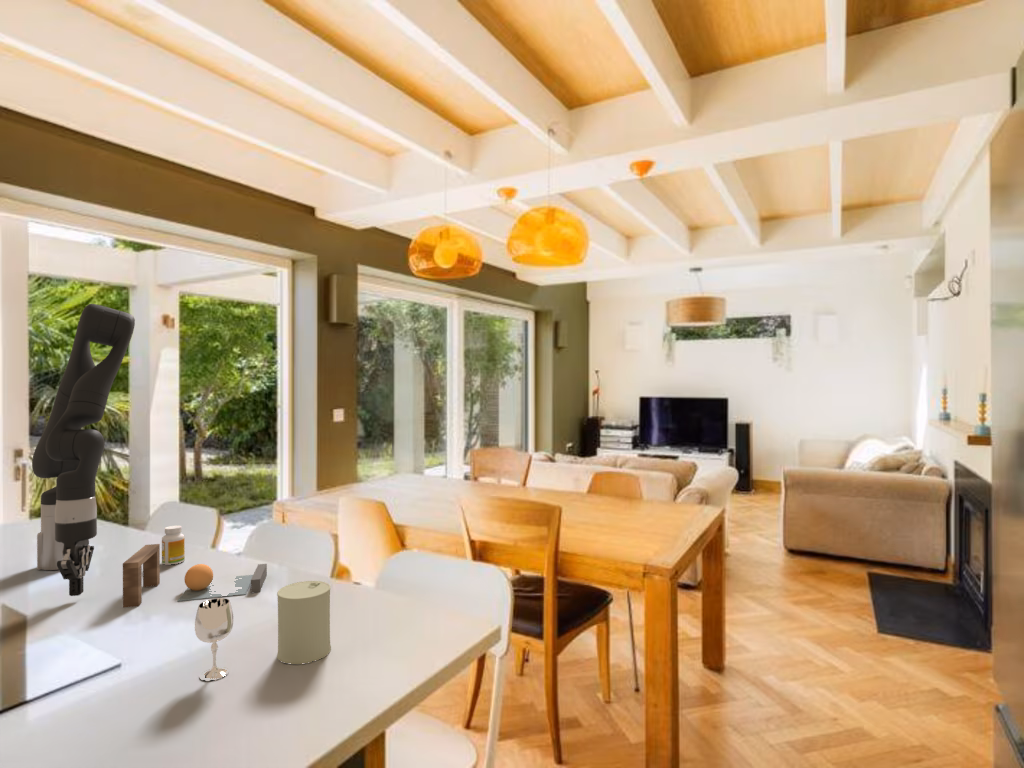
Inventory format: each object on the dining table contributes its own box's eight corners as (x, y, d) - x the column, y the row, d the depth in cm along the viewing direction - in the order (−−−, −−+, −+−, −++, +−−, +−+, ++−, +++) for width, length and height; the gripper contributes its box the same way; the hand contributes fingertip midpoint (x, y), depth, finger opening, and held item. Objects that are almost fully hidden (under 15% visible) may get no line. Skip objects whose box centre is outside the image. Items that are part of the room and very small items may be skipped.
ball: (199, 563, 132) (214, 584, 133) (207, 555, 138) (221, 576, 139) (175, 578, 131) (190, 599, 132) (184, 570, 137) (198, 590, 137)
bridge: (122, 607, 124) (122, 563, 124) (145, 584, 138) (145, 544, 138) (138, 606, 125) (138, 562, 125) (159, 583, 139) (159, 543, 139)
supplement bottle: (189, 559, 158) (188, 524, 158) (175, 565, 153) (175, 529, 153) (171, 559, 159) (170, 524, 159) (157, 565, 153) (156, 529, 153)
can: (341, 645, 106) (341, 581, 106) (308, 668, 97) (308, 598, 97) (300, 638, 109) (300, 575, 109) (265, 660, 100) (265, 592, 100)
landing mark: (177, 601, 128) (177, 600, 128) (193, 580, 141) (193, 580, 141) (245, 594, 132) (245, 593, 132) (254, 575, 145) (254, 574, 145)
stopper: (250, 592, 133) (250, 580, 133) (258, 576, 144) (258, 564, 144) (260, 591, 133) (260, 579, 133) (266, 575, 145) (266, 563, 145)
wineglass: (194, 687, 92) (194, 612, 92) (195, 671, 97) (195, 600, 97) (234, 678, 94) (233, 606, 94) (233, 663, 99) (232, 594, 99)
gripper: (82, 523, 123) (83, 603, 123) (107, 510, 135) (107, 583, 135) (41, 526, 121) (41, 607, 121) (70, 512, 133) (70, 586, 133)
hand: (76, 594), depth 128 cm, fingers closed
